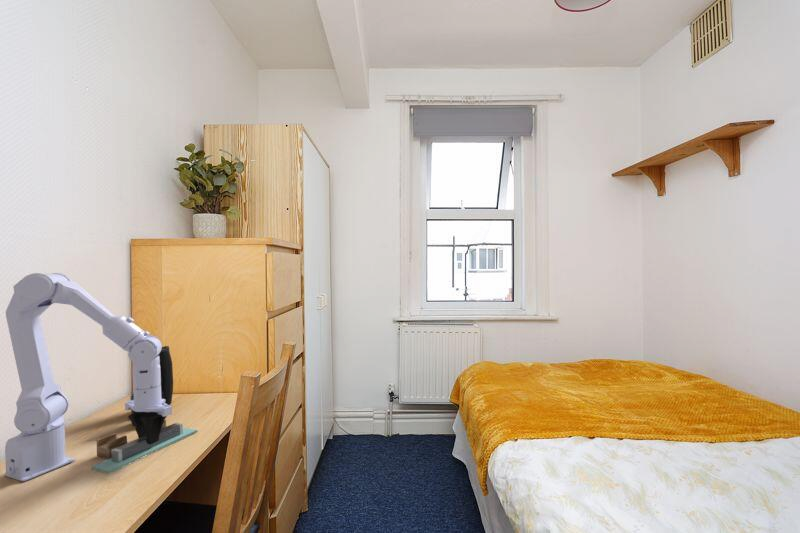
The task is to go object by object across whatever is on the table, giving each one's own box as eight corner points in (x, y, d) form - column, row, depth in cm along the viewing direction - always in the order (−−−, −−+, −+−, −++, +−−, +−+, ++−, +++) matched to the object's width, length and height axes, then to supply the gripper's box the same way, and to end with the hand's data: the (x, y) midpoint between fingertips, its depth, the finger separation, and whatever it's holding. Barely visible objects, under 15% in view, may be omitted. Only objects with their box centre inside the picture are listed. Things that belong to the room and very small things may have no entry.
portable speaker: (139, 408, 124) (137, 347, 124) (173, 402, 129) (171, 343, 129) (139, 416, 117) (137, 352, 117) (174, 409, 122) (172, 347, 122)
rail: (118, 462, 87) (118, 451, 87) (111, 460, 88) (111, 449, 88) (182, 433, 101) (182, 423, 101) (176, 432, 102) (175, 422, 102)
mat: (108, 473, 83) (108, 470, 83) (91, 469, 86) (91, 466, 86) (197, 432, 104) (197, 429, 104) (181, 429, 106) (181, 427, 106)
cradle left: (109, 460, 89) (109, 442, 89) (97, 456, 91) (96, 440, 91) (127, 452, 93) (126, 435, 93) (114, 449, 95) (114, 433, 95)
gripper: (182, 384, 95) (184, 438, 95) (144, 379, 101) (145, 431, 101) (155, 392, 89) (157, 451, 89) (115, 387, 95) (117, 442, 95)
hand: (149, 441), depth 95 cm, fingers closed on rail, 2 cm apart
